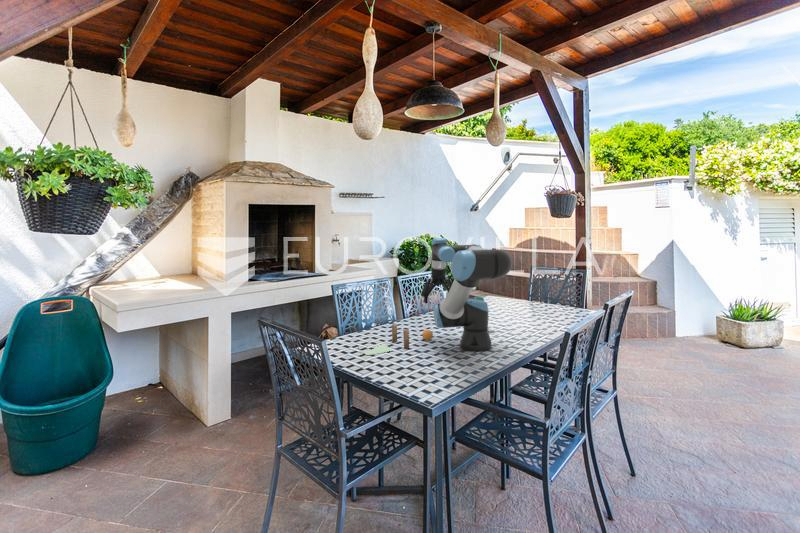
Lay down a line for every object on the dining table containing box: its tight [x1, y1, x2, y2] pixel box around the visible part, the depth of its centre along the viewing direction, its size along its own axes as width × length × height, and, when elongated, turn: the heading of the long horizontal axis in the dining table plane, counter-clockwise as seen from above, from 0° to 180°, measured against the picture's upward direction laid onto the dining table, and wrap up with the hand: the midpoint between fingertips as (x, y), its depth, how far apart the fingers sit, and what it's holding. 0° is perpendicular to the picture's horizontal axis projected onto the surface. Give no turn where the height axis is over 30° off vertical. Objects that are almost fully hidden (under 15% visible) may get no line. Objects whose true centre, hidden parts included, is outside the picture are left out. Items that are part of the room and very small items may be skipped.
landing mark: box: [360, 343, 395, 356], centre depth 185 cm, size 14×14×1 cm
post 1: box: [391, 323, 398, 343], centre depth 197 cm, size 3×3×9 cm
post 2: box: [403, 328, 410, 350], centre depth 186 cm, size 3×3×9 cm
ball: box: [421, 329, 433, 341], centre depth 199 cm, size 6×6×6 cm
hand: (437, 306), depth 202 cm, fingers open, 13 cm apart
